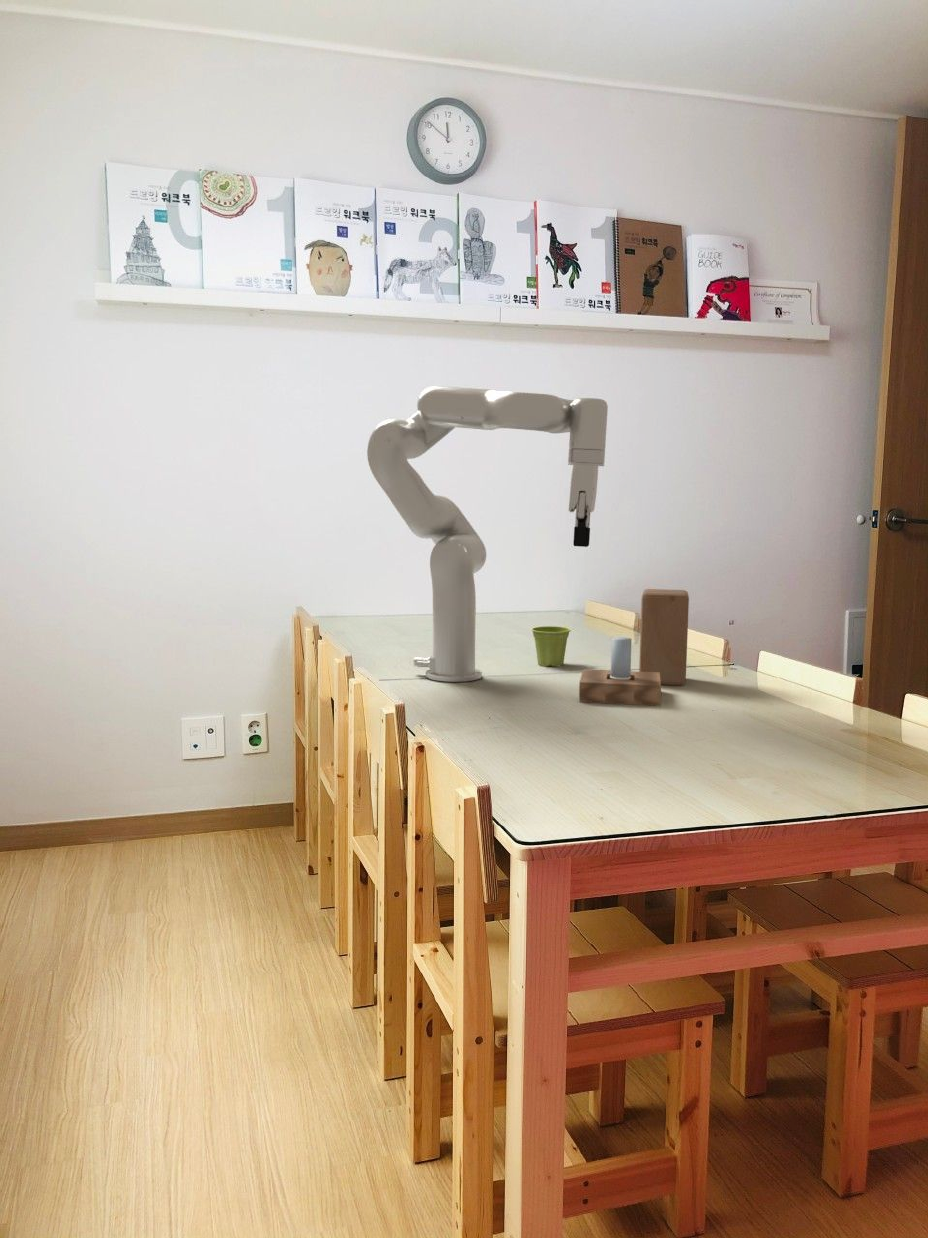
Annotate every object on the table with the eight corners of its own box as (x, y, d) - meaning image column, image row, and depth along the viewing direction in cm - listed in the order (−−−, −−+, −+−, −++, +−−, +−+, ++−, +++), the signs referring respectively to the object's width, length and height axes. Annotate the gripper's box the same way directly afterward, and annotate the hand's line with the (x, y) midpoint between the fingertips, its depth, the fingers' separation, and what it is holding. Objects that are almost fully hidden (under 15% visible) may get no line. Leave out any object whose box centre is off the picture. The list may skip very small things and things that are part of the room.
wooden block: (685, 686, 219) (689, 594, 216) (638, 684, 221) (641, 593, 218) (685, 677, 229) (688, 589, 226) (640, 675, 231) (642, 588, 228)
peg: (609, 698, 207) (610, 640, 205) (609, 693, 211) (611, 636, 209) (630, 699, 206) (631, 640, 205) (630, 694, 210) (632, 637, 209)
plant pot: (551, 669, 237) (551, 633, 236) (522, 664, 244) (523, 628, 243) (578, 665, 243) (579, 629, 242) (549, 659, 250) (550, 624, 249)
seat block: (579, 702, 203) (579, 682, 203) (582, 687, 217) (583, 669, 216) (660, 705, 200) (661, 685, 200) (658, 690, 214) (659, 672, 214)
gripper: (571, 458, 220) (566, 542, 223) (565, 457, 206) (559, 547, 209) (606, 459, 219) (601, 544, 222) (602, 458, 204) (596, 549, 207)
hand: (581, 545), depth 215 cm, fingers closed
